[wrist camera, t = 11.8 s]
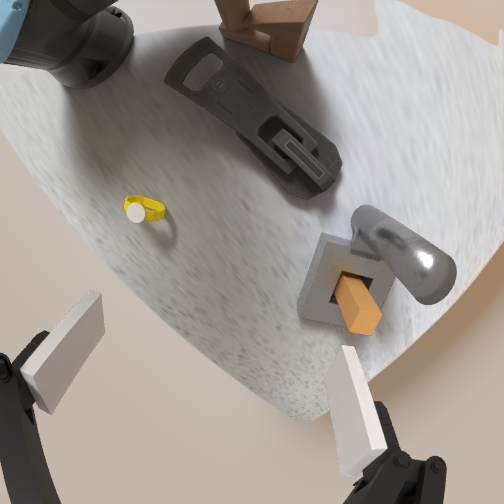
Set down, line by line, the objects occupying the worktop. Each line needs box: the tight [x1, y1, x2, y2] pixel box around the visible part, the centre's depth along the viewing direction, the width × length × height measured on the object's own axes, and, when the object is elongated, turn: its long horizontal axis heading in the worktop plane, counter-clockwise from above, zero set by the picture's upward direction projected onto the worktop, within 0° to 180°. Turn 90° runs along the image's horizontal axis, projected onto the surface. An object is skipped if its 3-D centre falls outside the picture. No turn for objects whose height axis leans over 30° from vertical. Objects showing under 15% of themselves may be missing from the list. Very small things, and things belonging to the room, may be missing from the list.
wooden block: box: [214, 0, 318, 63], centre depth 23 cm, size 4×11×18 cm, turn 65°
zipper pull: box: [164, 37, 342, 200], centre depth 32 cm, size 9×7×25 cm
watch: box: [123, 195, 166, 223], centre depth 37 cm, size 6×3×6 cm, turn 68°
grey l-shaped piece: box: [297, 205, 457, 327], centre depth 32 cm, size 18×12×20 cm
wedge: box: [333, 271, 383, 336], centre depth 37 cm, size 3×3×12 cm
